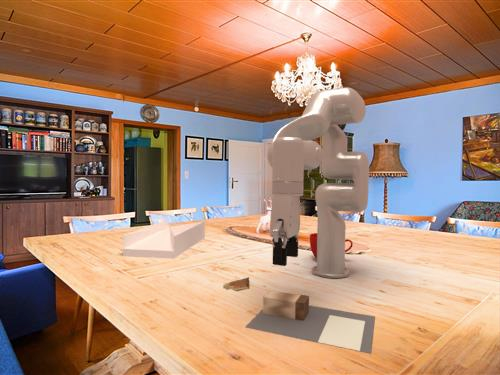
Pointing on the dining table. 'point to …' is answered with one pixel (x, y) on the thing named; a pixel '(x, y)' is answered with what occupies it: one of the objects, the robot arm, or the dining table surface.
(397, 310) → the dining table surface
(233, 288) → the shard
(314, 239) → the ceramic cup
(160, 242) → the hipped roof block
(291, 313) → the tan tapered block
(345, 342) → the mat
